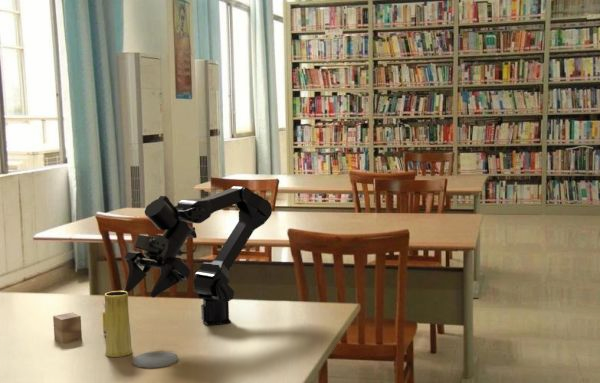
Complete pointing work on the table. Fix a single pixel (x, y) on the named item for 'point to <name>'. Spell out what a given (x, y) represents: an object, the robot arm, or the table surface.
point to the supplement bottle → (104, 321)
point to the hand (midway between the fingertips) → (139, 293)
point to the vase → (117, 324)
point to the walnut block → (67, 327)
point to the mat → (155, 359)
